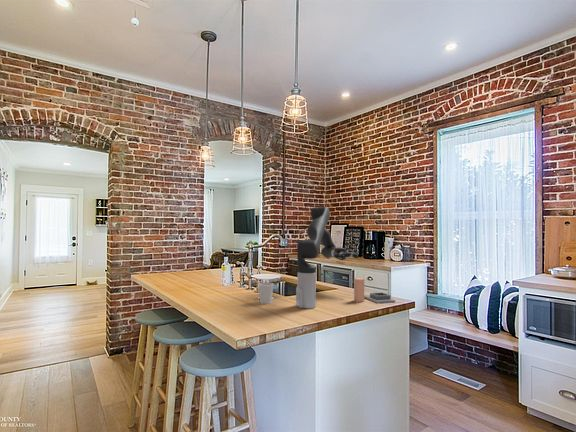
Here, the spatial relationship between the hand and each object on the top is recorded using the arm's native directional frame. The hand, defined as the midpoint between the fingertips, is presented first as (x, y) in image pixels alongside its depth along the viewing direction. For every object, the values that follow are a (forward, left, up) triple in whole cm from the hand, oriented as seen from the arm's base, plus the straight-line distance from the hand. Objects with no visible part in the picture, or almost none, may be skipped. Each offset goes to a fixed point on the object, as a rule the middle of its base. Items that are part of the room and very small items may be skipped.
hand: (350, 256), depth 192 cm
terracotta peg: (0, -11, -23) cm, 25 cm away
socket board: (+12, -11, -23) cm, 28 cm away
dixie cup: (-50, -2, -23) cm, 56 cm away
